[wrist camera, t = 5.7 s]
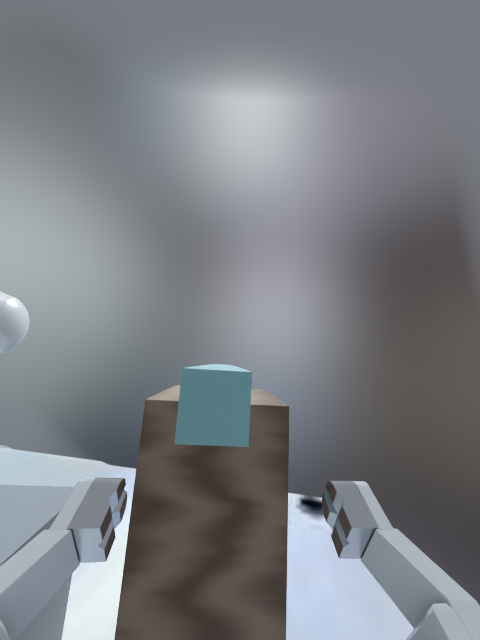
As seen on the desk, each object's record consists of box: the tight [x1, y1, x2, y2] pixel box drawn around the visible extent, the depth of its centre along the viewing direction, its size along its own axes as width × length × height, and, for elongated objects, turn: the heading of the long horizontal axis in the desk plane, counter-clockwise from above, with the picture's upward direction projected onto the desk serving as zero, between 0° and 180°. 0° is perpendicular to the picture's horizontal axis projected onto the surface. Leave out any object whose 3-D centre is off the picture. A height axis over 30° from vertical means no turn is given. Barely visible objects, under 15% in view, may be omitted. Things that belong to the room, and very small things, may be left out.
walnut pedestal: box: [115, 385, 289, 640], centre depth 23 cm, size 12×12×26 cm
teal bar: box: [175, 364, 252, 447], centre depth 22 cm, size 3×26×3 cm, turn 4°
